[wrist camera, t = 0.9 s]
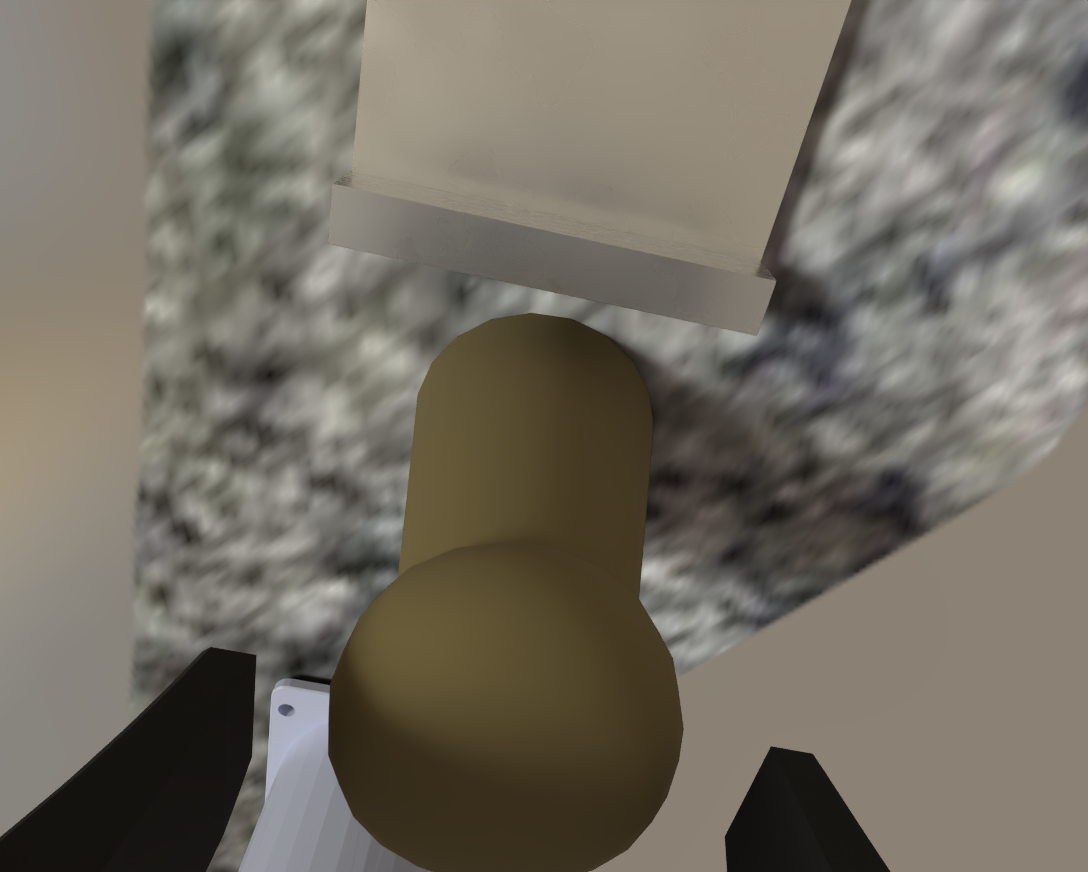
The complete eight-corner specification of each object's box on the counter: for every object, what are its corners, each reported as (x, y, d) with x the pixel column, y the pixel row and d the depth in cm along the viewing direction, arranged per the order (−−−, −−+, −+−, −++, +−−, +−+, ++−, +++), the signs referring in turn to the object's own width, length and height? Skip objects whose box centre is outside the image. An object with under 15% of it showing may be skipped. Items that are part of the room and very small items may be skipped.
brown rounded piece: (403, 314, 19) (217, 639, 9) (659, 312, 18) (756, 644, 9) (426, 525, 21) (303, 946, 12) (648, 525, 21) (711, 955, 11)
